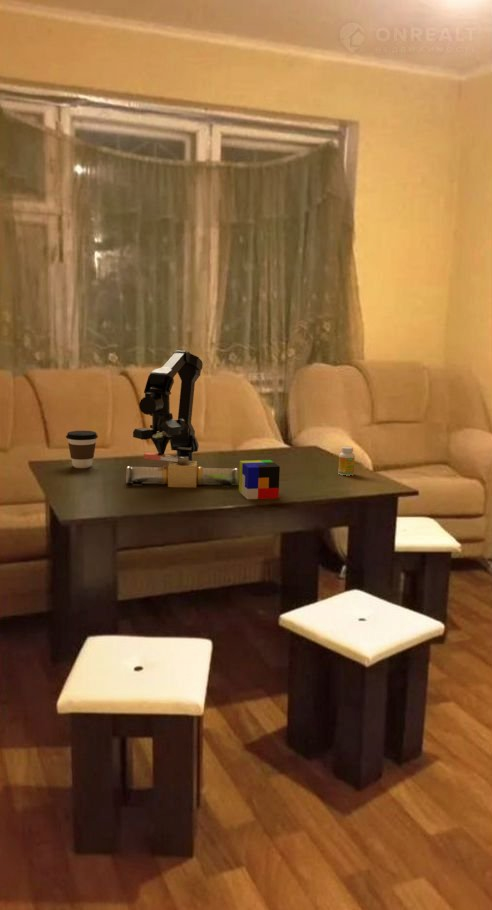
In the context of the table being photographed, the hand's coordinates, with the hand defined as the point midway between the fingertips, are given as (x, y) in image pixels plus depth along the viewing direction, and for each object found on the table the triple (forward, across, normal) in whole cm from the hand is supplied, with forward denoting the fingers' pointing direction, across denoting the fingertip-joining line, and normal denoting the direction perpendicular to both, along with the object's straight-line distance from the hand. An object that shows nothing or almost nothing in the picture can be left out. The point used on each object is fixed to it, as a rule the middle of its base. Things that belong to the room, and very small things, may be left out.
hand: (161, 456), depth 263 cm
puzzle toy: (+8, +12, -34) cm, 37 cm away
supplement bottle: (+10, +58, -30) cm, 66 cm away
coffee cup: (+8, -11, +32) cm, 35 cm away
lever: (0, -1, -4) cm, 5 cm away
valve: (+8, +1, -10) cm, 13 cm away
